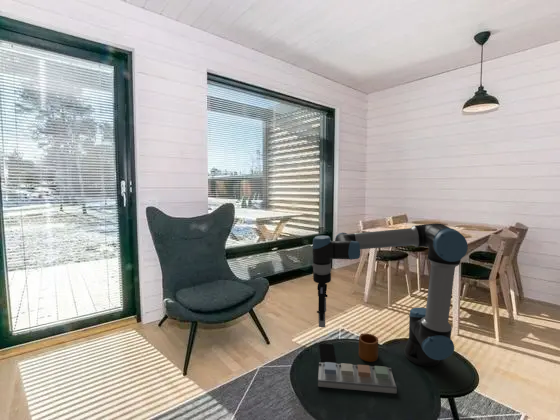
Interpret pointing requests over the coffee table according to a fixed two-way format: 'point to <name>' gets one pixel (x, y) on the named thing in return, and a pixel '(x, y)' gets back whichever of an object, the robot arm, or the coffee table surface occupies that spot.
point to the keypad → (356, 380)
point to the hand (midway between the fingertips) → (322, 318)
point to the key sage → (381, 372)
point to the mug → (368, 347)
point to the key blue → (330, 368)
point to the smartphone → (327, 353)
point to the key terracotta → (364, 371)
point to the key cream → (346, 369)
